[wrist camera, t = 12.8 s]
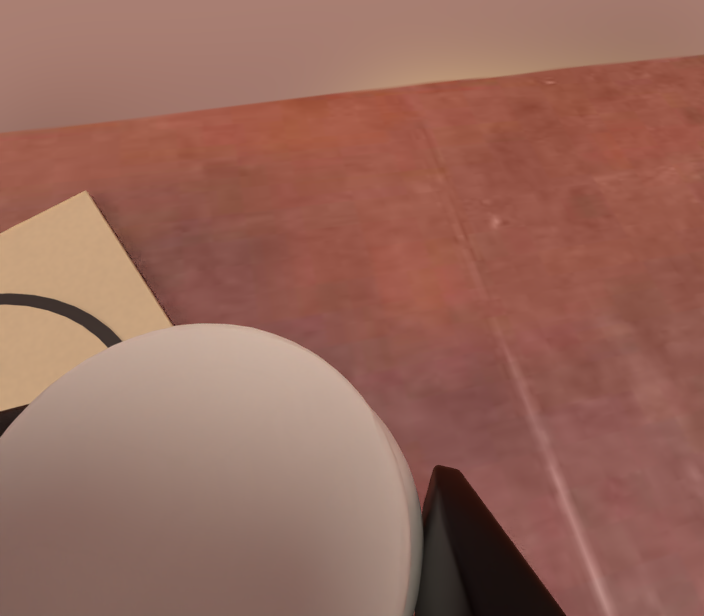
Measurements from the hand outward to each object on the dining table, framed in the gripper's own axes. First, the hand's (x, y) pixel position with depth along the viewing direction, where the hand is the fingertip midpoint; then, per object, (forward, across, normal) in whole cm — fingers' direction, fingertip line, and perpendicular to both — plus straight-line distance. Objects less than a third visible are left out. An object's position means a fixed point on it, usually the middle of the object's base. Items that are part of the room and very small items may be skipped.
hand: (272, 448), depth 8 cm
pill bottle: (+4, 0, +6) cm, 7 cm away
